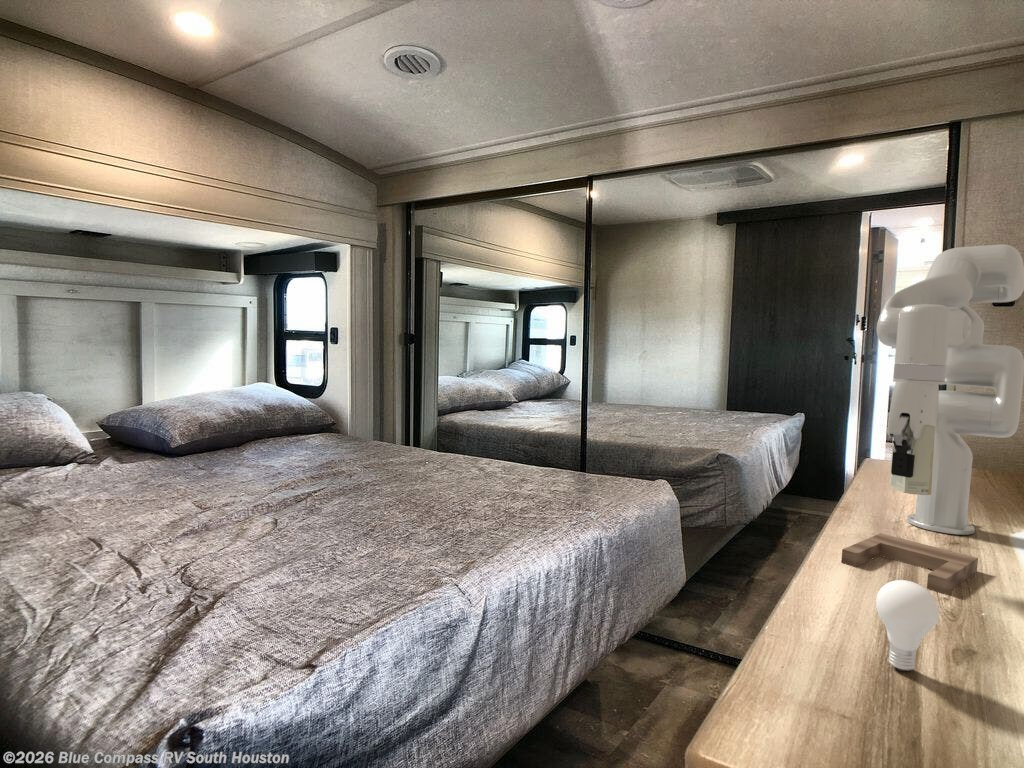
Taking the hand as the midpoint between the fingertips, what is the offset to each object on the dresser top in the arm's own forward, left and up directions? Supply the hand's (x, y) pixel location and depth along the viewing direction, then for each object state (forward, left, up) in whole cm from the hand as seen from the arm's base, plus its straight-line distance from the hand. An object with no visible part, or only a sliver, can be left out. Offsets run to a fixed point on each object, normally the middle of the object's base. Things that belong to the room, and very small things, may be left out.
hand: (910, 473), depth 103 cm
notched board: (-4, 0, -18) cm, 18 cm away
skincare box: (0, 0, -3) cm, 3 cm away
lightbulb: (+38, +12, -18) cm, 44 cm away
